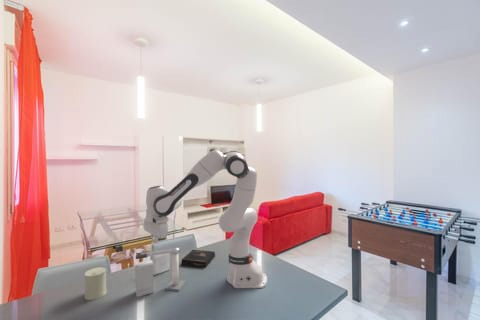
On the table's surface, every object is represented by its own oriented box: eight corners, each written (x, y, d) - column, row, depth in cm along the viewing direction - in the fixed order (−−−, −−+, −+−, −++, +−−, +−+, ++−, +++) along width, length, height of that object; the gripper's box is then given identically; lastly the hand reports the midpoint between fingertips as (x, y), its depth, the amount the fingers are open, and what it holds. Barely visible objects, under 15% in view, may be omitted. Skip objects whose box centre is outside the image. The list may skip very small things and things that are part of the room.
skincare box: (152, 287, 118) (152, 259, 118) (153, 293, 113) (153, 263, 113) (135, 291, 114) (135, 262, 114) (135, 297, 109) (135, 267, 109)
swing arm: (178, 249, 122) (178, 246, 122) (179, 253, 117) (179, 249, 117) (136, 256, 114) (136, 252, 114) (135, 260, 110) (135, 256, 110)
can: (83, 302, 106) (83, 277, 106) (86, 292, 114) (85, 268, 114) (105, 296, 110) (105, 272, 110) (107, 287, 118) (106, 264, 118)
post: (185, 282, 122) (185, 250, 122) (179, 291, 114) (179, 257, 114) (172, 281, 124) (172, 249, 124) (164, 289, 116) (164, 255, 116)
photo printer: (167, 267, 140) (167, 247, 140) (170, 269, 137) (170, 249, 137) (151, 273, 133) (151, 252, 133) (154, 276, 130) (154, 254, 130)
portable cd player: (215, 257, 156) (214, 251, 156) (205, 268, 139) (205, 262, 139) (193, 254, 159) (193, 249, 159) (181, 265, 143) (181, 259, 143)
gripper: (140, 214, 124) (140, 239, 124) (158, 221, 110) (158, 249, 110) (151, 212, 128) (151, 236, 128) (170, 218, 114) (170, 245, 115)
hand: (155, 242), depth 119 cm, fingers closed
